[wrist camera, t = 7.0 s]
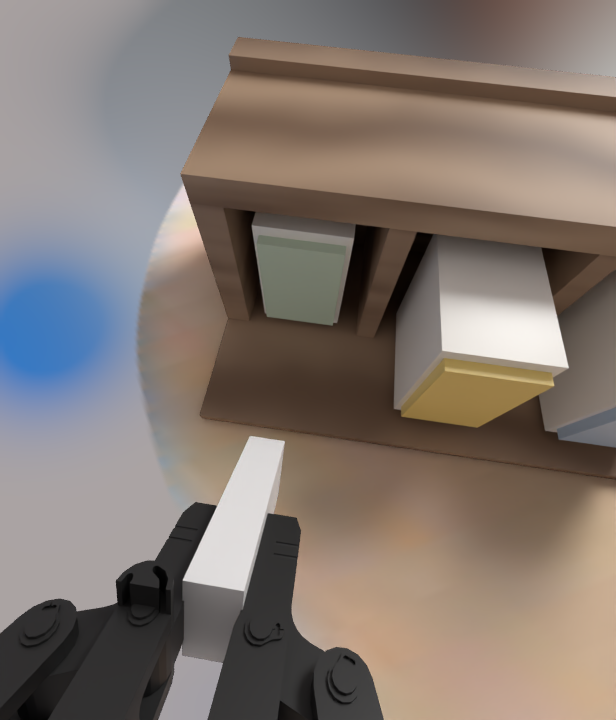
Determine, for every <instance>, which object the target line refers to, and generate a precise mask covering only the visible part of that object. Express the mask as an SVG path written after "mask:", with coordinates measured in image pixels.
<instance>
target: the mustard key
mask: <svg viewBox="0 0 616 720" xmlns="http://www.w3.org/2000/svg"><path fill="white" fill-rule="evenodd" d="M568 368H569V366H568V362H567V358H566V353H565V349H564V345H563V340H562V336H561V332H560V327H559V323H558V319H557V314H556V310H555V306H554V301H553V297H552V293H551V288H550V284H549V280H548V275H547V271H546V267H545V262H544V258H543V254H542V249H541V247H535V246H527V245H519V244H511V243H503V242H495V241H487V240H479V239H471V238H463V237H455V236H447V235H439V234H433V236H432V239H431V241H430V243H429V245H428V247H427V249H426V251H425V253H424V256H423V258H422V260H421V262H420V264H419V266H418V268H417V270H416V273H415V275H414V277H413V279H412V281H411V283H410V285H409V287H408V290H407V292H406V294H405V296H404V298H403V300H402V302H401V304H400V307H399V309H398V311H397V313H396V342H395V379H394V409H397V410H401V417H407V418H414V419H421V420H428V421H435V422H442V423H449V424H456V425H463V426H469V427H476V428H478V427H480V426H481V425H483V424H485V423H487V422H489V421H491V420H493V419H494V418H496V417H498V416H500V415H502V414H504V413H506V412H507V411H509V410H511V409H513V408H515V407H517V406H519V405H520V404H522V403H524V402H526V401H528V400H530V399H532V398H533V397H535V396H537V395H539V394H541V393H543V392H545V391H546V390H548V389H550V388H552V387H554V381H553V377H554V376H556V375H558V374H560V373H561V372H563V371H565V370H567V369H568Z"/></svg>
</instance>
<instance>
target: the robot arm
mask: <svg viewBox="0 0 616 720" xmlns="http://www.w3.org/2000/svg"><path fill="white" fill-rule="evenodd" d="M284 444H285V441H281V440H274V439H268V438H261V437H255V436H250V437H249V439H248V441H247V443H246V446H245V448H244V450H243V452H242V454H241V456H240V458H239V461H238V463H237V465H236V467H235V469H234V471H233V473H232V476H231V478H230V480H229V482H228V484H227V486H226V488H225V491H224V493H223V495H222V497H221V499H220V501H219V503H218V506H216V505H210V504H203V503H197V502H195V503H194V504H193V505H192V506H190V507H189V508H188V509H187V510H185V511H184V512H183V513H182V515H181V517H180V519H179V520H178V522H177V524H176V526H175V528H174V529H173V531H172V532H171V534H170V536H169V539H167V541H166V543H165V545H164V546H163V548H162V549H161V551H160V553H159V555H158V556H157V558H156V560H155V561H144V562H141V563H138V564H135V565H134V566H132V567H130V568H129V569H127V570H126V571H125V572H123V573H122V575H121V576H120V577H119V578H118V579H117V580H116V588H117V601H118V603H116V604H114V605H110V606H107V607H102V608H96V609H90V610H84V611H78V612H76V607H75V606H74V605H73V604H72V603H71V602H70V601H67V600H64V599H54V600H48V601H45V602H43V603H41V604H38V605H36V606H34V607H32V608H31V609H29V610H28V611H27V612H25V613H24V614H22V615H21V616H20V617H19V618H17V619H16V620H15V621H14V622H13V623H12V624H11V625H9V626H8V627H7V628H6V629H5V630H4V631H3V632H2V633H0V720H158V718H159V716H160V713H161V711H162V708H163V705H164V702H165V700H166V697H167V695H168V692H169V689H170V687H171V684H172V679H173V675H174V663H175V661H176V658H177V656H178V653H179V651H180V648H181V645H182V655H183V656H188V657H194V658H199V659H205V660H210V661H216V662H221V663H223V666H222V669H221V673H220V677H219V680H218V684H217V688H216V691H215V695H214V698H213V702H212V705H211V709H210V713H209V717H208V720H384V719H383V715H382V712H381V708H380V704H379V701H378V697H377V693H376V690H375V686H374V682H373V679H372V676H371V674H370V672H369V669H368V667H367V665H366V664H365V663H364V661H363V660H362V659H361V658H360V657H359V655H357V654H356V653H354V652H352V651H351V650H349V649H347V648H339V647H335V648H332V649H330V650H327V651H326V652H324V651H323V650H321V649H319V648H318V647H316V646H314V645H313V644H311V643H310V642H308V641H307V640H306V639H305V638H303V637H302V635H301V634H300V633H299V632H298V630H297V629H296V627H295V624H294V622H293V618H292V614H291V605H292V597H293V589H294V582H295V574H296V566H297V558H298V550H299V542H300V534H301V530H300V527H299V524H298V521H297V518H295V517H289V516H282V515H276V514H274V510H275V506H276V502H277V498H278V494H279V485H280V477H281V469H282V460H283V452H284Z"/></svg>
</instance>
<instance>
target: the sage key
mask: <svg viewBox="0 0 616 720" xmlns="http://www.w3.org/2000/svg"><path fill="white" fill-rule="evenodd" d="M355 226H356V224H351V223H343V222H335V221H327V220H319V219H311V218H303V217H295V216H287V215H279V214H271V213H263V212H256V213H255V216H254V219H253V222H252V231H253V238H254V245H255V251H256V258H257V264H258V271H259V278H260V284H261V291H262V297H263V304H264V311H265V313H266V314H267V317H273V318H280V319H288V320H295V321H302V322H310V323H317V324H324V325H332V326H333V323H337V322H338V317H339V312H340V307H341V302H342V297H343V292H344V287H345V282H346V277H347V272H348V267H349V262H350V257H351V252H352V247H353V242H354V235H355Z"/></svg>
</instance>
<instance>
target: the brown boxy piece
mask: <svg viewBox="0 0 616 720" xmlns="http://www.w3.org/2000/svg"><path fill="white" fill-rule="evenodd" d="M229 60H230V66H231V71H230V73H229V75H228V77H227V79H226V81H225V83H224V85H223V87H222V89H221V91H220V93H219V95H218V97H217V100H216V102H215V104H214V106H213V108H212V110H211V112H210V114H209V116H208V118H207V120H206V122H205V124H204V126H203V128H202V130H201V133H200V134H199V136H198V139H197V141H196V143H195V145H194V147H193V149H192V151H191V153H190V155H189V157H188V159H187V161H186V163H185V165H184V167H183V170H182V171H181V177H182V180H183V183H184V186H185V189H186V192H187V195H188V198H189V201H190V204H191V207H192V210H193V213H194V216H195V219H196V222H197V225H198V228H199V231H200V234H201V237H202V240H203V243H204V246H205V249H206V252H207V256H208V259H209V262H210V265H211V268H212V271H213V274H214V277H215V280H216V283H217V286H218V289H219V292H220V295H221V298H222V301H223V304H224V307H225V310H226V313H227V316H228V321H227V324H226V328H225V331H224V334H223V338H222V341H221V344H220V348H219V351H218V355H217V358H216V361H215V365H214V368H213V371H212V375H211V378H210V382H209V385H208V388H207V392H206V395H205V398H204V402H203V405H202V409H201V412H200V416H201V417H202V418H206V419H213V420H219V421H226V422H233V423H240V424H246V425H253V426H260V427H267V428H273V429H280V430H287V431H294V432H300V433H307V434H314V435H321V436H327V437H334V438H341V439H348V440H354V441H361V442H368V443H375V444H381V445H388V446H395V447H402V448H408V449H415V450H422V451H429V452H435V453H442V454H449V455H456V456H462V457H469V458H476V459H483V460H489V461H496V462H503V463H510V464H516V465H523V466H530V467H537V468H543V469H550V470H557V471H564V472H570V473H577V474H584V475H591V476H597V477H604V478H611V479H616V448H615V447H608V446H601V445H594V444H587V443H580V442H573V441H566V440H559V439H558V434H557V432H550V431H545V428H544V422H543V417H542V411H541V405H540V400H539V395H537V396H535V397H533V398H532V399H530V400H528V401H526V402H524V403H522V404H520V405H519V406H517V407H515V408H513V409H511V410H509V411H507V412H506V413H504V414H502V415H500V416H498V417H496V418H494V419H493V420H491V421H489V422H487V423H485V424H483V425H481V426H480V427H478V428H476V427H469V426H463V425H456V424H449V423H442V422H435V421H428V420H421V419H414V418H407V417H401V410H397V409H394V379H395V342H396V313H397V311H398V309H399V307H400V304H401V302H402V300H403V298H404V296H405V294H406V292H407V290H408V287H409V285H410V283H411V281H412V279H413V277H414V275H415V273H416V270H417V268H418V266H419V264H420V262H421V260H422V258H423V256H424V253H425V251H426V249H427V247H428V245H429V243H430V241H431V239H432V236H433V234H439V235H447V236H455V237H463V238H471V239H479V240H487V241H495V242H503V243H511V244H519V245H527V246H535V247H541V249H542V254H543V258H544V262H545V267H546V271H547V275H548V280H549V284H550V288H551V293H552V297H553V301H554V306H555V310H556V314H557V316H558V315H559V314H560V313H562V312H563V311H564V310H565V309H567V308H568V307H569V306H570V305H572V304H573V303H574V302H575V301H577V300H578V299H579V298H580V297H582V296H583V295H584V294H585V293H587V292H588V291H589V290H590V289H592V288H593V287H594V286H595V285H597V284H598V283H599V282H600V281H602V280H603V279H604V278H605V277H607V276H608V275H609V274H610V273H612V272H613V271H614V270H615V269H616V77H610V76H600V75H591V74H582V73H572V72H563V71H553V70H543V69H534V68H525V67H516V66H506V65H497V64H487V63H478V62H468V61H459V60H450V59H440V58H431V57H421V56H412V55H403V54H392V53H384V52H374V51H365V50H355V49H345V48H336V47H326V46H318V45H308V44H299V43H290V42H289V43H288V42H280V41H270V40H261V39H251V38H242V37H238V38H237V40H236V42H235V44H234V46H233V48H232V50H231V52H230V54H229ZM256 212H263V213H271V214H279V215H287V216H295V217H303V218H311V219H319V220H327V221H335V222H343V223H351V224H356V226H355V235H354V242H353V247H352V252H351V257H350V262H349V267H348V272H347V277H346V282H345V287H344V292H343V297H342V302H341V307H340V312H339V317H338V322H337V323H333V326H332V325H324V324H317V323H310V322H302V321H295V320H288V319H280V318H273V317H267V314H266V313H265V311H264V304H263V297H262V291H261V284H260V278H259V271H258V264H257V258H256V251H255V245H254V238H253V231H252V222H253V219H254V216H255V213H256Z"/></svg>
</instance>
